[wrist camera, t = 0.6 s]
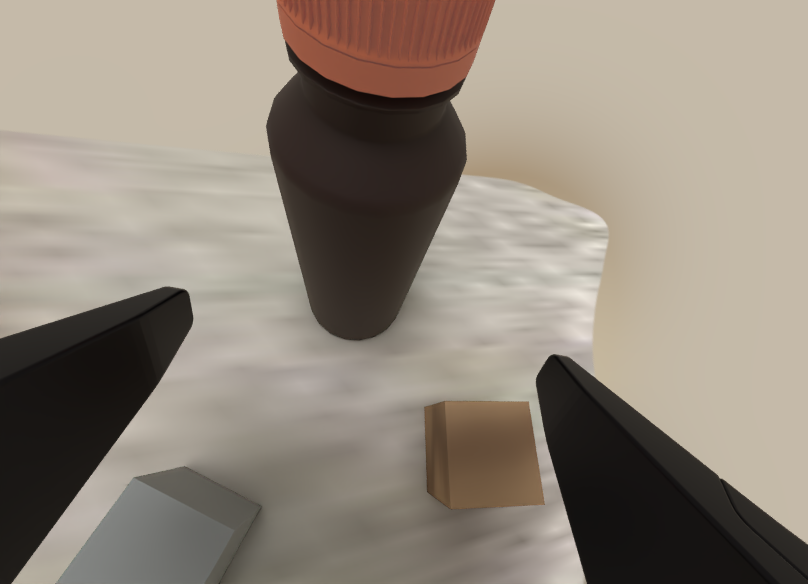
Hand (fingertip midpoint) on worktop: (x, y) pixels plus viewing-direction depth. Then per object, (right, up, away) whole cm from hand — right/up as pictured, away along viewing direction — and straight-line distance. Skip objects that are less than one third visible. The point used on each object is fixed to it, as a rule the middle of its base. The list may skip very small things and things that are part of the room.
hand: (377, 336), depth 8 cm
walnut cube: (+5, -9, +13) cm, 17 cm away
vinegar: (-3, +1, +16) cm, 17 cm away
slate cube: (-11, -12, +9) cm, 19 cm away
